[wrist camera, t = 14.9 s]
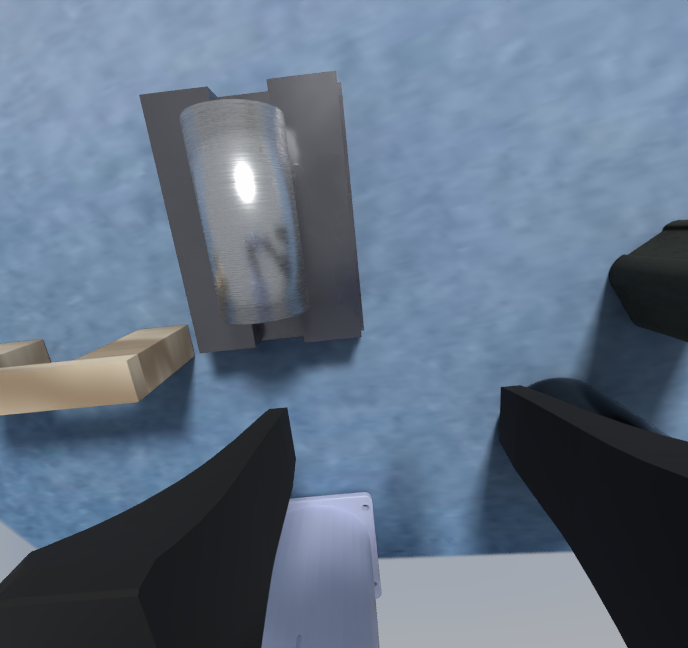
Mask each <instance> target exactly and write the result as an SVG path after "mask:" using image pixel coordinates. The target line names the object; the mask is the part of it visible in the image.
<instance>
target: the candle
mask: <svg viewBox="0 0 688 648" xmlns="http://www.w3.org/2000/svg"><path fill="white" fill-rule="evenodd" d="M610 282H611V284H612V286H613V288H614V290H615V291H616V293H617V295H618V297H619V298H620V300H621V302H622V304H623V305H624V307H625V309H626V311H627V312H628V314H629V316H630V318H631V319H632V321H633V322H634V323H635V324H636V325H638V326H640V327H643V328H646V329H649V330H652V331H655V332H658V333H662V334H665V335H668V336H671V337H674V338H677V339H680V340H684V341H687V342H688V220H677V221H674V222H671V223H669V224H667V225H666V226H665V228H664V231H662V232H661V233H659V234H658V235H656V236H655V237H654V238H652V239H651V240H649V241H648V242H646V243H645V244H643V245H642V246H640V247H639V248H637V249H636V250H634V251H633V252H631V253H630V254H629V255H622V256H621V257H619V258H618V259H617V260H616V261H615V263H614V264H613V266H612V268H611V271H610Z"/></svg>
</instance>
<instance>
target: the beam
mask: <svg viewBox="0 0 688 648" xmlns="http://www.w3.org/2000/svg"><path fill="white" fill-rule="evenodd" d="M194 356H195V355H194V350H193V346H192V342H191V338H190V334H189V330H188V325H180V326H170V327H161V328H151V329H141V330H137V331H135V332H133V333H131V334H129V335H127V336H124V337H122V338H120V339H118V340H116V341H114V342H112V343H110V344H108V345H105V346H103V347H101V348H99V349H97V350H95V351H93V352H91V353H89V354H86V355H84V356H82V357H80V358H78V359H76V360H74V361H64V362H54V363H51V361H50V359H49V356H48V353H47V351H46V348H45V345H44V342H43V340H34V341H24V342H14V343H5V344H0V415H9V414H19V413H30V412H40V411H51V410H61V409H71V408H82V407H92V406H103V405H113V404H123V403H134V402H139V401H141V400H142V399H143V398H144V397H145V396H147V395H148V394H149V393H150V392H151V391H153V390H154V389H155V388H156V387H158V386H159V385H160V384H161V383H162V382H164V381H165V380H166V379H167V378H168V377H170V376H171V375H172V374H173V373H174V372H176V371H177V370H178V369H179V368H181V367H182V366H183V365H184V364H185V363H187V362H188V361H189V360H190V359H191V358H193V357H194Z"/></svg>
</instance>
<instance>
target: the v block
mask: <svg viewBox="0 0 688 648" xmlns="http://www.w3.org/2000/svg"><path fill="white" fill-rule="evenodd" d="M267 85H268V91H266V92H258V93H250V94H242V95H234V96H225V97H216V95H215V94H214V93H213V92H212V91H211V90H210V89H209V88H208V87H200V88H191V89H183V90H175V91H167V92H159V93H151V94H143V95H139V96H140V100H141V104H142V109H143V113H144V117H145V121H146V126H147V130H148V134H149V138H150V143H151V147H152V151H153V155H154V160H155V164H156V168H157V173H158V177H159V181H160V185H161V190H162V194H163V198H164V202H165V207H166V211H167V215H168V219H169V224H170V228H171V232H172V236H173V241H174V245H175V249H176V253H177V258H178V262H179V266H180V270H181V275H182V279H183V283H184V288H185V292H186V296H187V300H188V305H189V309H190V313H191V317H192V322H193V326H194V330H195V334H196V339H197V343H198V347H199V351H200V353H208V352H218V351H228V350H238V349H248V348H256V347H257V345H258V344H259V343H260V342H261V341H262V340H271V339H281V338H291V337H301V336H304V342H305V343H308V342H318V341H328V340H338V339H348V338H358V337H361V330H364V325H363V315H362V304H361V293H360V282H359V271H358V261H357V250H356V239H355V228H354V218H353V207H352V196H351V185H350V175H349V164H348V153H347V142H346V131H345V121H344V110H343V99H342V88H341V82H340V83H337V76H336V71H330V72H322V73H314V74H305V75H297V76H289V77H281V78H273V79H267ZM221 99H245V100H254V101H259V102H264V103H267V104H270V105H273V106H275V107H277V108H278V109H280V110H281V111H282V113H283V115H284V121H285V128H286V136H287V143H288V150H289V158H290V165H291V173H292V180H293V187H294V195H295V202H296V209H297V217H298V224H299V232H300V239H301V246H302V254H303V261H304V268H305V276H306V283H307V291H308V298H309V305H310V308H309V309H308V310H307V311H305V312H303V313H301V314H298V315H296V316H293V317H289V318H285V319H281V320H276V321H271V322H265V323H257V324H228V323H224V322H223V321H222V318H221V314H220V309H219V304H218V299H217V295H216V290H215V285H214V280H213V276H212V271H211V266H210V261H209V257H208V252H207V247H206V242H205V237H204V233H203V228H202V223H201V218H200V214H199V209H198V204H197V199H196V195H195V190H194V185H193V180H192V176H191V171H190V166H189V161H188V157H187V152H186V147H185V142H184V138H183V133H182V128H181V123H180V118H179V117H180V114H181V112H182V111H183V110H185V109H186V108H188V107H190V106H192V105H195V104H198V103H201V102H206V101H212V100H221Z"/></svg>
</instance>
